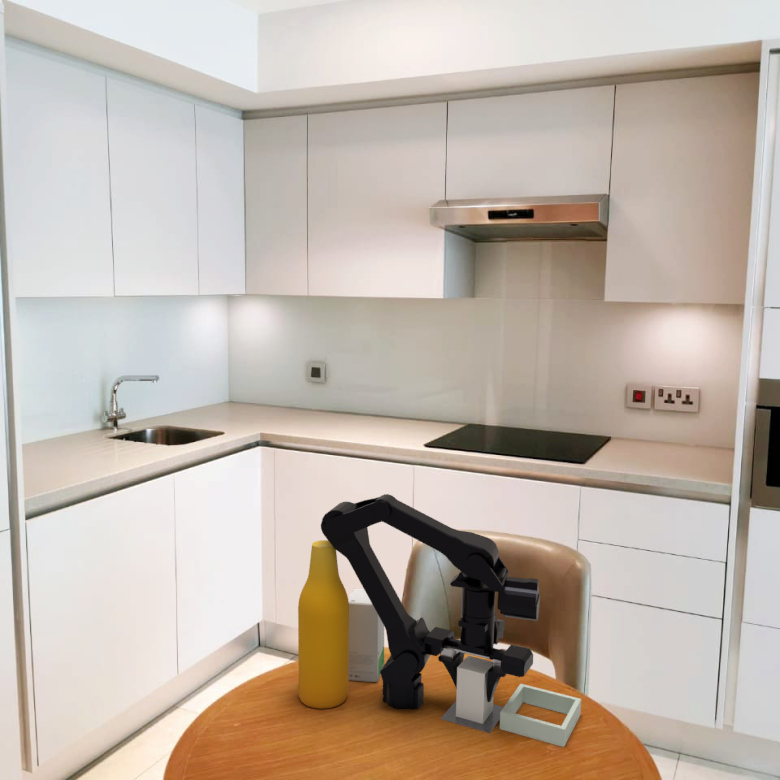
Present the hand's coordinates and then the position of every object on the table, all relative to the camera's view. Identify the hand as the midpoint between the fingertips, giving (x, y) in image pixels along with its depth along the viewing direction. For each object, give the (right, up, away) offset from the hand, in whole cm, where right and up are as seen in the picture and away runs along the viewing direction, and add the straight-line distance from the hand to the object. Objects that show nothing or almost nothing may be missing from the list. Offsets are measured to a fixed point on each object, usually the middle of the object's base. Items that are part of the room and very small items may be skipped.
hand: (475, 697), depth 137 cm
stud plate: (0, -4, +1) cm, 4 cm away
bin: (+11, -5, -2) cm, 12 cm away
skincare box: (-20, -2, +17) cm, 26 cm away
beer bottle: (-27, -3, +7) cm, 28 cm away
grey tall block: (0, -3, 0) cm, 3 cm away
